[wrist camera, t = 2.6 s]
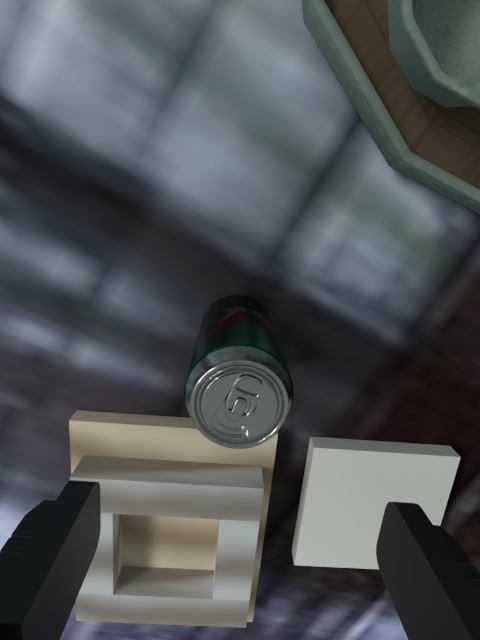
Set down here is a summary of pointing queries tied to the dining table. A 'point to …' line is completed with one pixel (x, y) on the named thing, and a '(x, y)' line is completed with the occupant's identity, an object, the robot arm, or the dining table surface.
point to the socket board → (171, 520)
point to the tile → (364, 495)
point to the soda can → (237, 376)
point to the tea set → (411, 82)
